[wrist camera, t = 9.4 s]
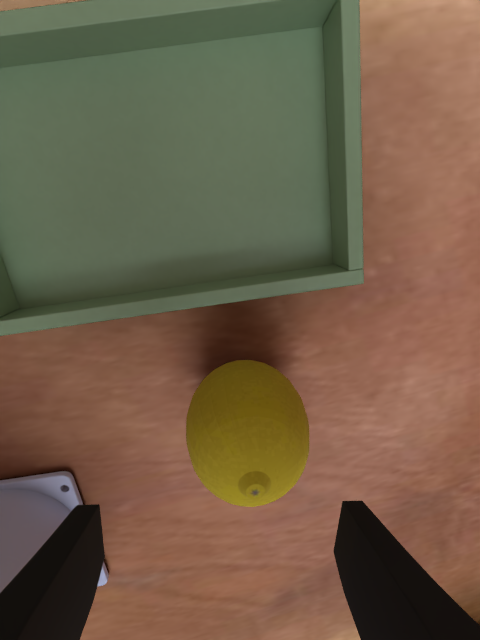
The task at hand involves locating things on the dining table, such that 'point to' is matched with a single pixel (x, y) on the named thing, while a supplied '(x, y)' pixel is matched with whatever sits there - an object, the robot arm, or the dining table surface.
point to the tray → (176, 156)
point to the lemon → (247, 433)
